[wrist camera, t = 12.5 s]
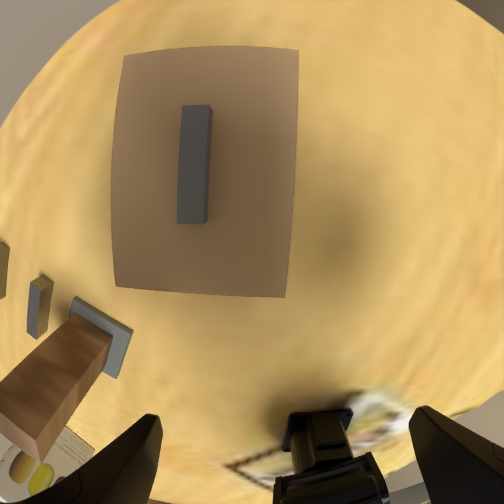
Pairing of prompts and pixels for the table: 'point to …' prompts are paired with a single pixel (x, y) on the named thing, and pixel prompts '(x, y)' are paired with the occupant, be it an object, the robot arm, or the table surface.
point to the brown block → (51, 385)
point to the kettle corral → (410, 495)
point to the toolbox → (205, 170)
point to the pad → (111, 326)
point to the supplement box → (41, 467)
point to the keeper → (30, 297)
